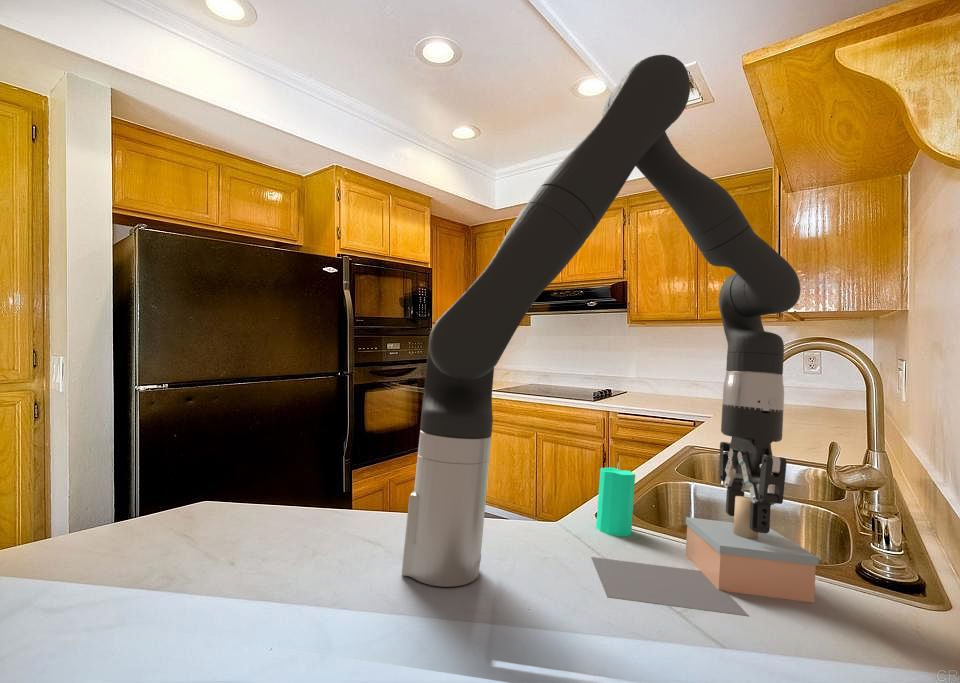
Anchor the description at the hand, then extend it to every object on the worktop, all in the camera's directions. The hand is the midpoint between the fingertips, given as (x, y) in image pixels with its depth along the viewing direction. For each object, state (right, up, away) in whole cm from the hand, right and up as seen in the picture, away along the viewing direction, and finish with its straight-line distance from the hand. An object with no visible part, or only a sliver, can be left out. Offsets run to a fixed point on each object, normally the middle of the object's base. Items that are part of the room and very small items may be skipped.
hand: (746, 523), depth 64 cm
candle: (-14, -8, +15) cm, 22 cm away
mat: (-14, -6, -5) cm, 16 cm away
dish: (-1, -8, -1) cm, 8 cm away
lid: (0, -3, 0) cm, 3 cm away
